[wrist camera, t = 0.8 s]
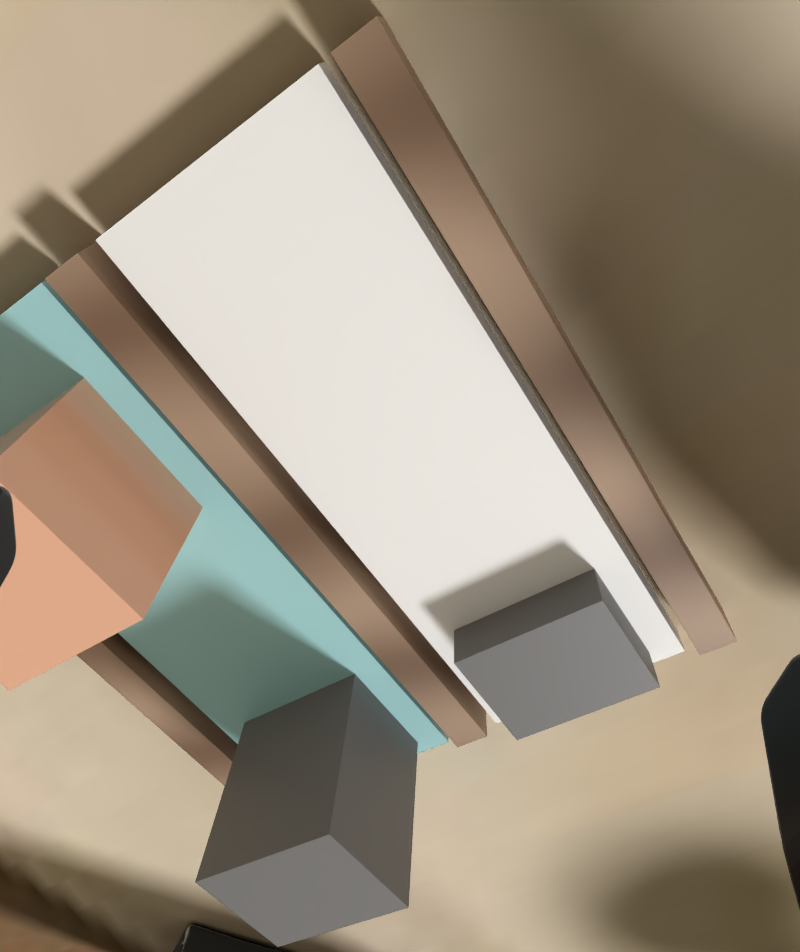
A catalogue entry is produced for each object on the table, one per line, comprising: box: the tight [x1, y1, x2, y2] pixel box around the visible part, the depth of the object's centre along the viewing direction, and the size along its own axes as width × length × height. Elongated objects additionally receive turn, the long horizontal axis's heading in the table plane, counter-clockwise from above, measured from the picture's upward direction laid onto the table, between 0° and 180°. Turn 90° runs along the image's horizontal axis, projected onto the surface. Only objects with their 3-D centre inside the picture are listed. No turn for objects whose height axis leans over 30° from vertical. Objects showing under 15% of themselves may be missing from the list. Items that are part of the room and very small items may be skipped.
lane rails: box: [45, 16, 737, 786], centre depth 23 cm, size 20×19×2 cm
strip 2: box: [0, 280, 448, 947], centre depth 22 cm, size 20×7×7 cm, turn 34°
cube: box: [0, 378, 203, 690], centre depth 20 cm, size 5×5×5 cm
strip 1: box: [96, 62, 685, 740], centre depth 21 cm, size 20×7×2 cm, turn 34°
